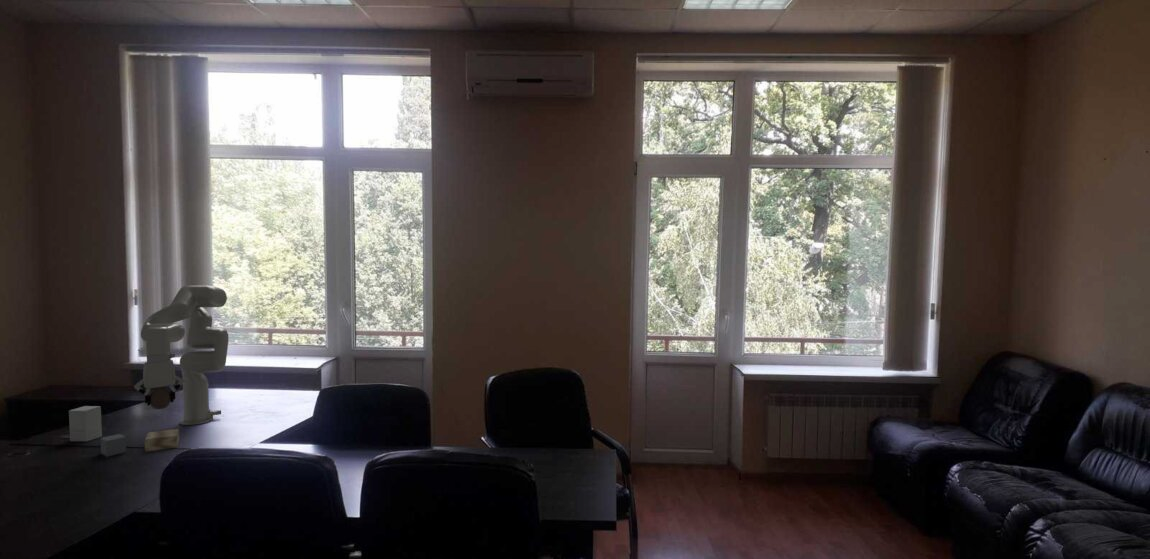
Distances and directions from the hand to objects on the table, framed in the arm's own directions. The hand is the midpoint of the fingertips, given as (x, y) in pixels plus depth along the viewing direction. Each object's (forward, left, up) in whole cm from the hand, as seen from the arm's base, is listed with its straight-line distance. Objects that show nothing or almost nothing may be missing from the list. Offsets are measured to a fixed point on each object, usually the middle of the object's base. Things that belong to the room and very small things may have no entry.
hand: (160, 402), depth 226 cm
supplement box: (+23, -30, -17) cm, 41 cm away
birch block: (0, 0, -17) cm, 17 cm away
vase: (0, 0, -2) cm, 2 cm away
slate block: (+15, -2, -17) cm, 23 cm away
